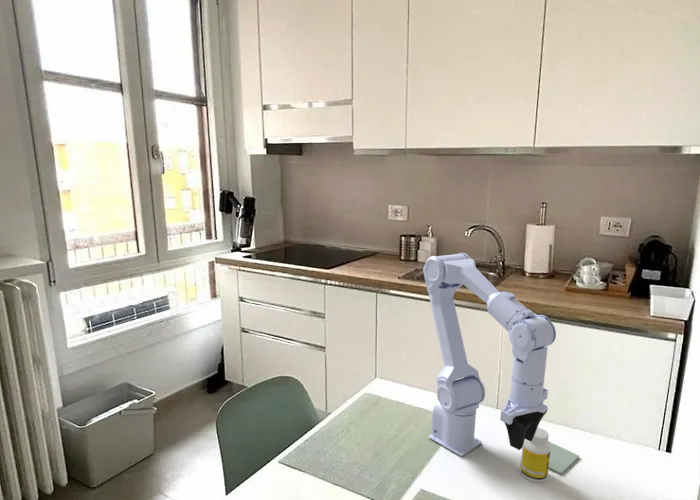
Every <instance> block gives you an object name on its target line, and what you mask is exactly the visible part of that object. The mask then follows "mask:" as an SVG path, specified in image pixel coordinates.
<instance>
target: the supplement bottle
mask: <svg viewBox="0 0 700 500" xmlns="http://www.w3.org/2000/svg"><path fill="white" fill-rule="evenodd" d="M548 441H549V433H548V431H547V430H546V429H544V428H542V427H539V426H538V427H537V430H536V432H535V435H534V437H533V440H532V441H529V440H526V439H524V444H523V447H522V449H521V457H520V464H519V465H520V466H519V471H520V474H521V476H522V477H524V478H525V479H527V480H529V481H531V482H535V483H542V482H545V481H546V479H547V478H548V475H549V469H548V467H549V458H550V451H551V447H550V444H549V443H548Z"/></svg>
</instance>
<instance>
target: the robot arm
mask: <svg viewBox="0 0 700 500" xmlns="http://www.w3.org/2000/svg"><path fill="white" fill-rule="evenodd" d="M422 272H423V277H424V282H425V285H426V290H427V293H428V297H429V302H430V306H431V311H432V316H433V320H434V321H433V322H434V326H435V330H436V335H437V338H438V344H439V349H440V353H441V358H442V362H443V363H442V364H443V368H442V370H440V373H439V374H438V376H437V377H436V385H437V391H436V397H437V401H436V403H435V404H434V406H433V409H432V414H431V415H432V417H431V428H430V431H431V432H430V434H429V435H428V438H429V439H430V440H432V441H433V442H434V443H435V442H436V443H437V444H439V445H441V446H442V447H444V448H445V449H447V450H450V451H451V452H453V453H455V455H458V456H459V457H464V456H465V455H467V454H468V453H469V452H471V451H472V450H474V449H475V448H477V447H478V446H479V445H481V444H482V440H481V439H479V438H477V437H475V433H476V432H475V430H476V417H477V416H476V415H477V409H479V408H480V404H481V403H482V402H484V400H485V398H486V389H485V385H484V384H483V383H484V382H482V379H481V378H480V375H479V371H478V369H476V368H475V367H474V366H472V365H470V364H469V363H468V360H467V359H468V358H467V354H466V350H465V345H464V341H463V336H462V331H461V327H460V323H459V318H458V314H457V310H456V309H457V308H456V305H455V301H454V295H455V293H456V292H457V290H459V288H461V287H462V286H465V287H466V288H467V289H469V290H470V291H471V293H473V294H474V295H476V297H478V298H479V299H480V300H482V301H483V302H484V303H485V304H486V305H487V306H486V309H487V313H488V314H489V315H490V316H491V317H492V318H493V319H494V320H496V322H498V323H499V324H500V325H501V327H502V328H504V330H506V331H507V333H508V337H509V341H510V343H511V347H512V349H511V350H512V351H511V353H512V355H513V362H512V373H511V383H510V394H509V396H508V398H507V400H506V403H505V405H504V408H503V409H502V410H500V419H499V420H500V421H501V422H503V423H504V425H505V426H506V431H507V436H508V442H509V446H510V447H513V448H514V449H516V450H518V451H520V450H521V451H522V447H523V444H524V439H526V440H529V441H532V440H533V437H534V435H535V432H536V430H537V427H538V428H539V424H540V422H541V421H542V419H543V418H544V417H545V415H546V414H547V413H548V406H547V405H546V404H544V402H545V400H547V399H548V393H549V390H548V389H546V388H544V383H545V375H546V367H547V357H548V349H549V348H548V346H550V345H552V344H553V343H555V340H556V337H557V332H556V327H555V325H554V323H553V321H551V320H550V319H549V317H548V316H546V315H544V314H537V313H535V312H533V311H532V310H531V309H529V308H528V307H526V306H525V305H524V304H522V303H521V301H519V300H518V299H517V298H516V295H515V294H514V293H513V292H508V291H499V290H498V289H497V288H496V287H495V286H494V284H493V283H492V282H490V280H488V279H487V277H486V276H485V275H484V274H482V272H481V271H480V270H479V269H478V268H477V267H476V262H475V260H474V259H473V258H472V257H470V255H468V254H467V253H465V252H459V253H455V254H454V253H453V254H446V255H438V256H437V255H431V256H430V257H428V259H427V260H426V261H425V263H424V266H423V268H422Z"/></svg>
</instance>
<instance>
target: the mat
mask: <svg viewBox="0 0 700 500" xmlns="http://www.w3.org/2000/svg"><path fill="white" fill-rule="evenodd" d="M548 443H549V444H550V447H551V451H550V458H549V467H548V471H549V470H550V471H552V472H553V473H555V474H557V475H559V476H562V475H563V474H564V473H565V472H566V471H567V470H568V469H569V468H570V467H571V466H573V464H574V463H575V462H577V461H578V460H579V458H580V455H578V454H576V453H575V452H572V451H570V450H568V449H566V448H563V447H562V446H559V445H557V444H555V443H553V442H550V441H549V440H548Z"/></svg>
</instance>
